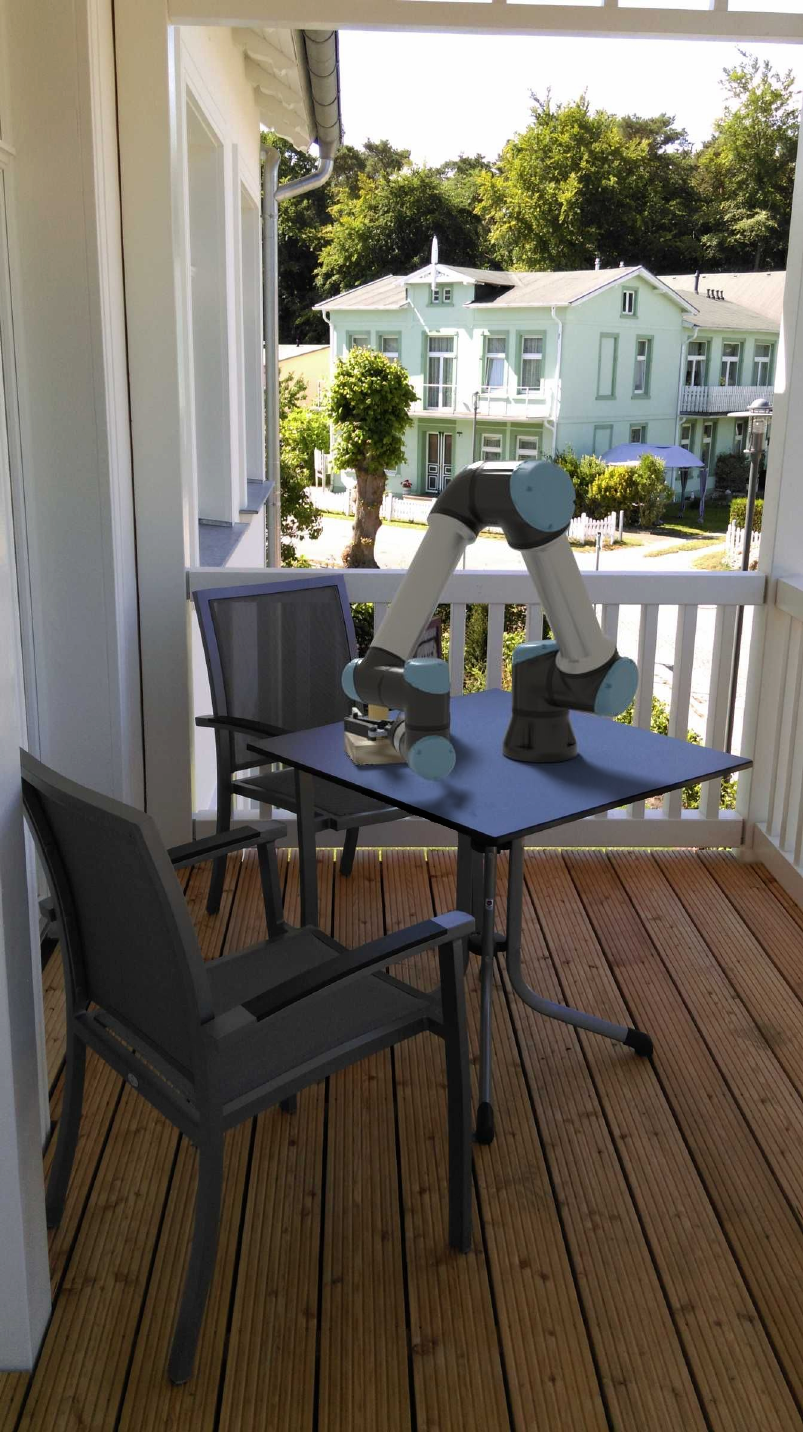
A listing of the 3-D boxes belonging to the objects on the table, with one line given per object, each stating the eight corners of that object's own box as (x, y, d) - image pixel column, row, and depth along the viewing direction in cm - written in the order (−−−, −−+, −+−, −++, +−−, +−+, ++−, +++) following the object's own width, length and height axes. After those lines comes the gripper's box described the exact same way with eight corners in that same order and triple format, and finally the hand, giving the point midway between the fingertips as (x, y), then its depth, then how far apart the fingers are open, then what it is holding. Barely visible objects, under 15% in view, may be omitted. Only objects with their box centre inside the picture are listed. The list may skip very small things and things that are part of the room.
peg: (386, 752, 237) (385, 666, 233) (391, 757, 233) (389, 669, 229) (367, 754, 236) (366, 667, 232) (371, 759, 232) (369, 670, 228)
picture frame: (417, 746, 242) (417, 627, 236) (374, 742, 245) (373, 625, 240) (444, 729, 257) (444, 616, 251) (403, 725, 260) (402, 614, 255)
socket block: (401, 746, 242) (401, 728, 241) (415, 761, 230) (415, 742, 229) (344, 750, 239) (344, 731, 238) (355, 765, 228) (355, 745, 227)
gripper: (343, 764, 201) (325, 735, 221) (482, 755, 206) (451, 728, 227) (343, 721, 199) (324, 696, 220) (482, 714, 205) (451, 690, 225)
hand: (388, 712), depth 223 cm, fingers open, 13 cm apart
